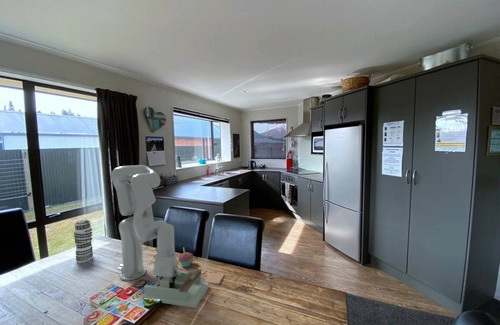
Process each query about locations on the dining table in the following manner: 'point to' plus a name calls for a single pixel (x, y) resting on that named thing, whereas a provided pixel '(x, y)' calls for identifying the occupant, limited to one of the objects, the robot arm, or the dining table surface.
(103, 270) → the dining table surface
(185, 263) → the cupcake
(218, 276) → the terracotta coaster
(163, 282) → the cream block
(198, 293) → the puzzle board
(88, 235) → the stacked grey column
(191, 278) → the latch bar
